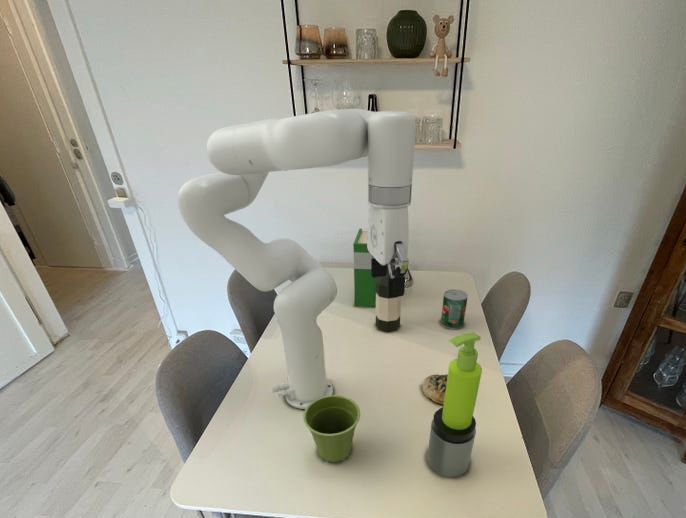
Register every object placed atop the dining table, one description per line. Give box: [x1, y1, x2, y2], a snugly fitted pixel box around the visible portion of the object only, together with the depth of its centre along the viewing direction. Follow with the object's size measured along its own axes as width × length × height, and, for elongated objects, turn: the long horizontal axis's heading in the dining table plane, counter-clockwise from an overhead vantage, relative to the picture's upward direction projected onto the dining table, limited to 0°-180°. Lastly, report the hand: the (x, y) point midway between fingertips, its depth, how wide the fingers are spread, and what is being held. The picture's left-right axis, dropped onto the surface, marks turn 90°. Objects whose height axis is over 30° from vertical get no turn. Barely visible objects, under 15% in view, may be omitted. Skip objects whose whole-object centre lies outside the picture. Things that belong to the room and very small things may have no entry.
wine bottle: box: [375, 258, 402, 333], centre depth 123 cm, size 8×8×30 cm
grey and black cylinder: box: [426, 406, 477, 478], centre depth 80 cm, size 9×9×12 cm
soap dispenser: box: [442, 331, 483, 430], centre depth 71 cm, size 6×7×20 cm
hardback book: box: [353, 228, 378, 308], centre depth 144 cm, size 18×7×24 cm, turn 174°
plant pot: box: [302, 394, 361, 463], centre depth 83 cm, size 12×12×11 cm
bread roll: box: [421, 373, 448, 405], centre depth 101 cm, size 11×11×5 cm
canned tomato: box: [440, 289, 469, 330], centre depth 130 cm, size 8×8×11 cm
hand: (386, 285), depth 75 cm, fingers open, 9 cm apart
